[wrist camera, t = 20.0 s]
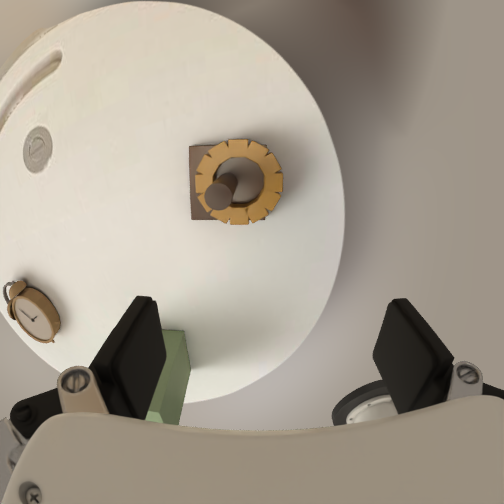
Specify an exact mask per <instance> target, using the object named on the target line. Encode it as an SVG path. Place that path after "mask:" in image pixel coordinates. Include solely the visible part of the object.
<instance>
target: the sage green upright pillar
mask: <svg viewBox="0 0 504 504" xmlns="http://www.w3.org/2000/svg"><path fill="white" fill-rule="evenodd" d="M162 334H163V338H164V343H165V348H166V353H167V357H166V361H165V364H164V367H163V370H162V373H161V375H160V378H159V381H158V384H157V387H156V389H155V392H154V395H153V398H152V401H151V404H150V407H149V410H148V413H147V416H146V419H145V420H146V421H152V422H158V423H164V424H172V425H179V420H180V415H181V411H182V407H183V402H184V398H185V393H186V389H187V384H188V380H189V376H190V372H191V368H190V362H189V357H188V352H187V346H186V340H185V334H184V331H175V330H162Z"/></svg>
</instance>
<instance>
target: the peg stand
mask: <svg viewBox="0 0 504 504" xmlns="http://www.w3.org/2000/svg"><path fill="white" fill-rule="evenodd" d="M215 146H216V145H203V146H189V174H190V202H191V219H192V220H218V219H216V218H214V217H213V216H211V215H210V214H211V212H212V211H213V210H218V211H219V210H224V209H226V208H227V207H228V206H229V205H230V204H231V203H233V204H247V203H249V202H250V201H252V200H254V199H256V198H257V197H258V196H259V194H260V192H261V190H262V189H263V187H264V174H263V172H262V171H261V169H260V167H259V166H258V164H257V163H255V162H253V161H251V160H250V159H248V158H246V157H231V158H230V159H228V160H226V161H225V162H223V163H221V165H220V167H219V169H218V171H217V172H216V174H215V181H214V182H213V183H212V184H211V185H210V186H209V187H208V188H207V189H206V191H205V195H204V199H205V202H206V204H207V205H208V206H209V207H210V208H211V209H212V210H210V211H209V212H206V210H205V208H204V207H203V205H202V204H201V202H200V201H199V199H198V198H197V197H198V196H199V195H200V194H201V193H196V185H195V175H196V174H198V173H200V172H198V171H196V170H197V168H198V166H199V164H200V162H201V160H202V158H203V156H204V155H205V154H209V152H208V150H210V149H211V148H213V147H215ZM248 146H249V145H248ZM262 146H264V147H265V148H267V145H262ZM209 155H210V154H209ZM266 155H267V154H266ZM229 220H230V218H229ZM249 220H250V218H249ZM260 220H265V217H263V218H262V219H260Z"/></svg>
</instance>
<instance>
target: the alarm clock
mask: <svg viewBox="0 0 504 504" xmlns="http://www.w3.org/2000/svg"><path fill="white" fill-rule="evenodd" d="M11 285H12V286H11ZM26 285H27V284H26V283H25V282H24V281H17V282H16V281H15V282H14V281H12V282H8V283H7V284H6V285H5V286H4V287H3V295H4V298H5V300H6V302H7V304H8V307H7V311H8V314H9V316H10V317H11V318H12V319H13V320H17V322H18V324H19V325H20V327H21V328H22V329H23V330H24V331H25V332H26V333H27V334H28V335H29V336H30V337H32V338H33V339H35V340H36V341H39V342H41V343H49V342H51V341H52V342H53V343H54V340H53V338H54V336H55V335H56V333H57V332H58V330H59V329H60V324H61V322H60V319H59V315H58V313H57V311H56V309H55V307H54V306H53V305H52V303H51V302H50V301H49V300H48V299H47V298H46V297H45V296H44V295H43V294H42V293H40V292H39V291H37V290H35V289H32V288H25V287H26ZM7 286H11V288H10V290H9V296H10V298H11V300H9V298H8V296H7V293H6V287H7ZM18 293H19V294H18ZM17 294H18V295H17ZM16 295H17V296H16ZM15 296H16V297H15Z"/></svg>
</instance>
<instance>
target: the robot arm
mask: <svg viewBox="0 0 504 504" xmlns="http://www.w3.org/2000/svg"><path fill="white" fill-rule="evenodd" d="M166 357H167V353H166V348H165V343H164V338H163V334H162V329H161V324H160V318H159V313H158V307H157V303H156V301H153V300H152V298H151V297H148V296H137V297H136V298H135V299H134V300H133V302H132V303H131V305H130V306H129V308H128V309H127V310H126V312H125V313H124V315H123V316H122V318H121V319H120V321H119V322H118V324H117V325H116V327H115V328H114V329H113V330H112V332H111V333H110V335H109V336H108V338H107V339H106V341H105V342H104V344H103V345H102V347H101V349H100V350H99V352H98V353H97V355H96V356H95V358H94V360H93V361H92V363H91V364H90V366H89V368H87V367H84V366H74V367H70V368H68V369H66V370H65V371H63V372H62V373H61V374H60V376H59V378H58V380H57V388H55V389H53V390H50V391H47V392H44V393H42V394H39V395H36V396H33V397H30V398H27V399H24V400H21V401H19V402H17V403H16V404H15V405H14V407H13V408H12V410H11V413H10V419H9V420H8V419H7V418H6V417H5V418H4V419H2V420H1V421H0V504H504V390H501V389H498V388H496V387H493V386H490V385H488V384H485V383H483V376H482V373H481V371H480V370H479V368H478V367H477V366H475V365H474V364H472V363H470V362H466V361H462V362H458V363H456V364H455V365H453V364H452V362H453V360H454V357H453V355H452V354H451V353H450V351H449V350H448V349H447V348H446V346H445V345H444V344H443V342H442V341H441V340H440V338H439V337H438V336H437V334H436V333H435V332H434V331H433V330H432V328H431V327H430V326H429V325H428V323H427V322H426V321H425V320H424V318H423V317H422V316H421V315H420V314H419V312H418V311H417V310H416V309H415V308H414V306H413V305H412V304H411V303H410V302H409V301H408V300H407V299H406V298H400V299H393V300H392V302H390V303H389V304H388V307H387V310H386V314H385V317H384V320H383V324H382V327H381V330H380V333H379V336H378V339H377V342H376V345H375V348H374V351H373V360H374V362H375V364H376V366H377V368H378V370H379V373H380V375H381V377H382V379H383V381H384V383H385V386H386V388H387V390H388V392H389V394H390V395H381V396H377V397H374V398H371V399H369V400H367V401H365V402H363V403H361V404H359V405H358V406H357V407H355V408H354V409H353V410H352V411H351V412H350V413H349V414H348V416H347V418H346V422H347V424H345V425H338V426H330V427H321V428H310V429H295V430H268V431H250V430H221V429H208V428H197V427H188V426H180V425H172V424H164V423H158V422H152V421H146V420H145V419H146V416H147V413H148V410H149V407H150V404H151V401H152V398H153V395H154V392H155V389H156V387H157V384H158V381H159V378H160V375H161V373H162V370H163V367H164V364H165V361H166Z"/></svg>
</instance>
